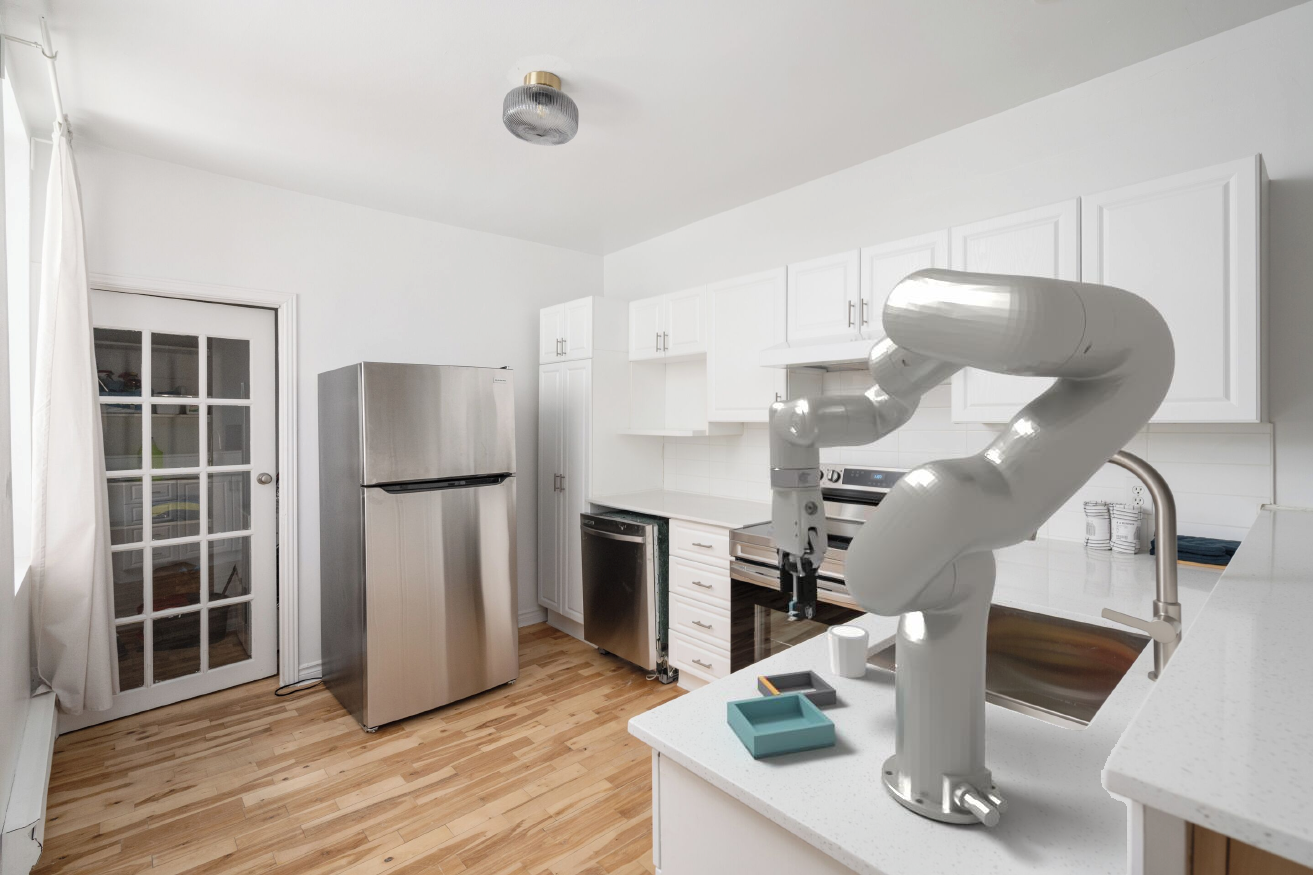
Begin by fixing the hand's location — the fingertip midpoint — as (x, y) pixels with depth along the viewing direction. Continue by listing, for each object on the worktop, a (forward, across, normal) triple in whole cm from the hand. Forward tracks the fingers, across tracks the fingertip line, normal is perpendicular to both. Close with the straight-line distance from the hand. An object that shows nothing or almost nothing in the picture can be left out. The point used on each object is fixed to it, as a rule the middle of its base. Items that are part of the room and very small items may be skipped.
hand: (798, 595), depth 93 cm
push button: (+4, 0, 0) cm, 4 cm away
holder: (+16, +1, 0) cm, 16 cm away
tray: (+16, -8, +8) cm, 20 cm away
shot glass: (+16, +7, -13) cm, 22 cm away
